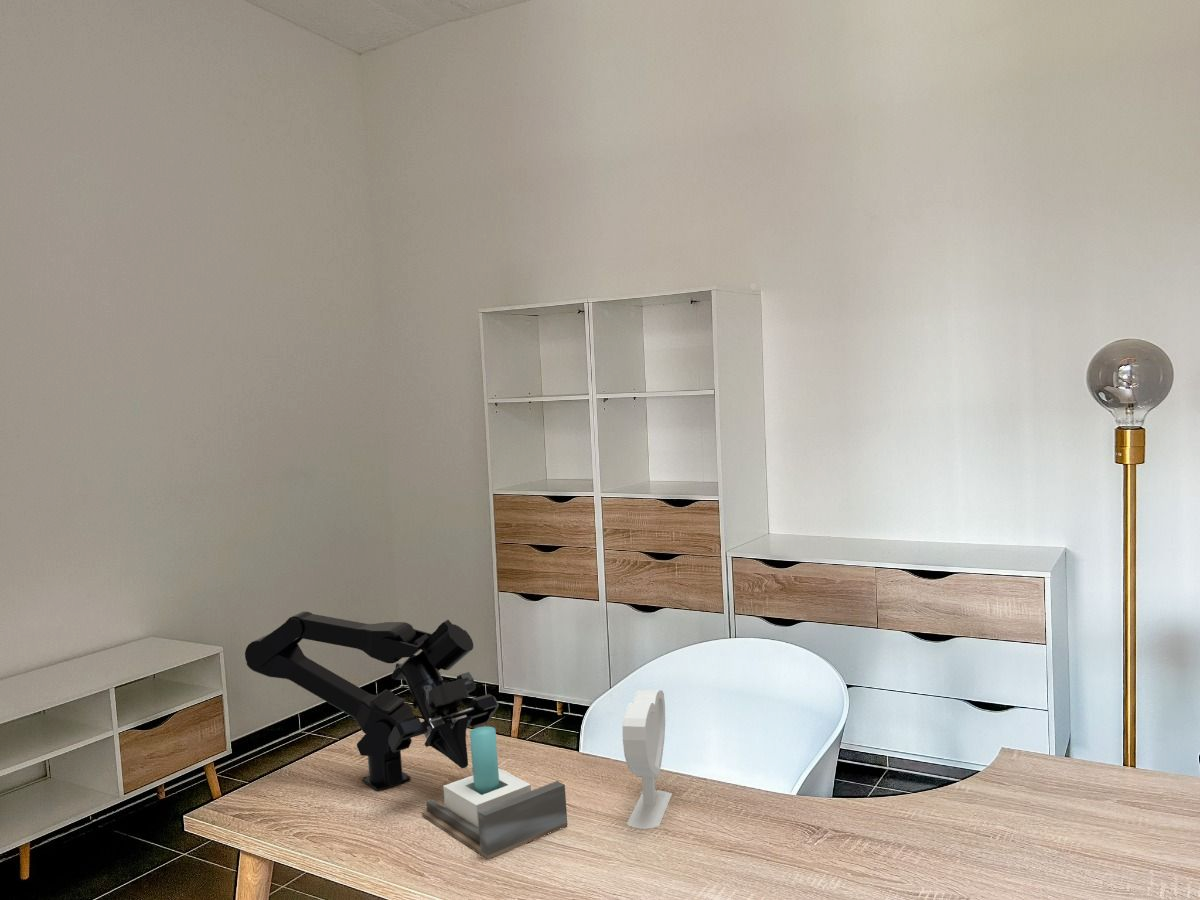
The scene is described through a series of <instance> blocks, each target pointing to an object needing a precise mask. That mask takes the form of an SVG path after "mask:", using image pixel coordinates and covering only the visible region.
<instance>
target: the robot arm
mask: <svg viewBox="0 0 1200 900" xmlns="http://www.w3.org/2000/svg"><path fill="white" fill-rule="evenodd" d="M302 640H308V641H315V642H320V643H324V644H331V645H335V646H341V647H345V648H346V647H347V648H352V649H356V650H360V651H362V652H363V653H365V654H366V655H367V656H368V657H370V658H372V659H375V660H378V661H380V662H383V663H385V664H395V663H396V664H395V668H394V670H393V672H392V675H391V679H393V680H400V681H405V682H406V684H407V686H408V689H409V691H410V693H411V695H412V698H413V700H414V701H413V702H412V706H413V708H414V710H416V709H418V711H419V712H420V713H419V714H420V715H421V717H422V720H423V721H421V720H420V718H419V717H418V716H416V715H415V714H414V711H413V708H412V706H411V705H409V704H408V703H407V702H406V700H407V698H405V697H400V696H397V695H396V693H394V692H393V691H391V690H389V689H384V690H383V691H382V692H380V693H378V694H372V693H370V692H367V691H366V690H364V689H362V688H361V687H359V686H357V685H356V684H354V683H352V682H351V681H349V680H347V679H345V678H343V677H342V676H340V675H338V674H337V673H335V672H333V671H331V670H330V669H328V668H326V667H324V666H323V665H321V664H319V663H317V662H315V661H313V660H312V659H311V658H308V657H307V656H306V655H304V652H303V650H302V649H301V647H300V645H299V643H300V642H301V641H302ZM473 649H474V642H473V639H472V637H471V635H470V634H469V632H468V631H466V630H465V629H464V628H462V627H460V626H459V625H457V624H453V623H452V622H451V621H450V620H449V619H446V620H444V621H443V622H442V623H441V624H440V625H439V626H438V627H437V628H436V629H435V631H433V632H432V633H430V632H426V631H422V630H419V629H415V628H414V627H413V625H411V624H410V623H408V622H405V621H387V622H377V623H366V622H365V623H364V622H359V621H353V620H349V619H342V618H336V617H332V616H325V615H319V614H315V613H313V612H310V611H301V612H298V613H297V614H294V615H293V616H291V617H289V618H287V620H286V621H285V622H284V623H282V624H281V625H280V626H278V627H277V628H276V629H275V630H274V631H272V632H270V633H268V634H266V635H263V636H261V637H259V638H257V639H255V640H253V641H251V642H249V644H248V645H247V646H246V648H245V652H244V658H245V659H244V660H245V661H246V666H247V667H248V668H249V669H250V671H252V672H255V673H256V674H257V673H258V674H260V675H262V676H266V677H269V678H274V679H275V678H277V679H284V680H288V681H290V682H292V683H294V684H296V685H297V686H299V687H300V688H303V689H304V690H306V691H308V692H309V693H311V694H312V695H315V696H316V697H318V698H320V700H323V701H325V702H327V703H328V704H329V705H331V706H333V707H335V708H337V709H338V710H340V711H341V712H343V713H345V714H347V715H349V716H350V717H352V718H353V719H355V720H356V723H357V724H358V726H359V728H360V729H361V731H362V733H364V735H363V737H362V738H361V739H360V740H359V741H357V743H356V748H357V750H358V752H359V755H360V756H363V757H365V756H366V757H367V763H368V764H367V765H368V775H365V776H363V777H361V781H362V782H363V783H364V784H366V785H368V786H369V787H371V788H373V790H376V791H382V790H385V789H387V788H390V787H394V786H396V785H400V784H402V782H403V783H406V782H409V781H410V780H411V776H410V775H409V774H407V773H405V772H404V771H403V763H402V752H401V751H403V750H406V749H410V746H411V743H412V738H415V737H419V736H422V735H424V738H426V741H425V742H424V746H425V747H426V748H428V747H431V748H433V749H434V750H436V751H437V752H439V753H441V754H442V755H443V756H445V757H447V758H448V759H449V760H451V762H453V763H454V764H455V765H456V766H458V767H459V768H460V769H465V768H467V767H468V766H469V759H468V750H467V729H468V728H469V727H471V728H477V727H480V726H481V725H484V724H487V723H489V722H490V721H491V719H492V718H493V716H494V714H495V713H496V711H497V710H498V708H499V706H500V705H499V703H498V701H497V699H496V697H495V696H494V695H492V694H490V693H488V694H485V695H481V696H478V697H475V698H472V699H471V701H470V702H469V704H468V706H467V708H463V709H458V708H459V707H462V704H463V699H467V698H469V697H470V695H469V693H471V692H473V691H475V690H476V683H475V679H474V678H473V676H472V675H471V673H470V672H469V671H468V672H464V673H461V674H459V675H457V676H456V680H453V681H450V680H449V679H448V678H447V679H443V677H442V674H441V672H440V670H443V671H450V670H451V669H452V668H453V667H455V665H457V664H458V663H459V662H460V661H461V660H462V659H463V658H464V657H466V656H467V655H468V654H469V653H470V652H472V650H473ZM418 652H419V653H418ZM403 658H407V659H406V660H405V661H403V663H398V662H399V661H400V660H402V659H403ZM405 781H406V782H405ZM399 783H400V784H399Z"/></svg>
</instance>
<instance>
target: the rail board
mask: <svg viewBox="0 0 1200 900" xmlns="http://www.w3.org/2000/svg"><path fill="white" fill-rule="evenodd" d="M566 797H567V796H566V784H564V783H563V782H560V781H558V780H556V781H554V782H551V783H548V784H545V785H542V786H540V787H537V788H535V789H533V790H532V789H531V791H529V792H527V793H524V794H522V795H519V796H516V797H514V798H511V799H509V800H506V801H503V802H501V803H498V804H496V805H493V806H490V807H488V808H485V809H483V810H480V811H478V822H479V829H478V828H476V827H475V826H473V825H472V824H470V823H468V822H467V821H465V820H464V819H462V818H460V817H459V816H457V815H456V814H454V813H452V812H451V811H449V810H448V809H446V808H445V803H443V804H440V803H439V802H436V801H435V800H433V799H429V800H426V801H425V804H426V810H424V811H422V812H421V816H422V817H423V818H424V819H426V820H427V821H429V822H430V823H432V824H434V825H435V826H436V827H438V828H440V829H441V830H443V831H444V832H446V833H447V834H449V835H450V836H452V837H453V838H455V839H457V840H458V841H459V842H461V844H462V843H463V844H464V845H466V846H467V847H468V848H470V849H471V850H473V851H474V852H476V853H478V854H479V855H480V856H482V857H484V859H487V860H491V859H493V858H496V857H498V856H500V855H503V854H505V853H507V852H510V851H512V850H515V849H516V847H517V848H519V847H522V846H524V845H526V844H528V842H529V843H531V842H533V841H532V840H534V841H535V839H536V840H537V838H538V839H540V838H539V837H541V838H542V836H543V837H545V836H547V835H546V834H548V833H550V832H552V833H554V832H553V831H555V830H557V831H559V830H561V829H560V828H562V829H564V828H566V827H568V826H567V825H568V813H567V798H566ZM565 826H566V827H565ZM563 827H564V828H563ZM558 829H559V830H558ZM555 832H556V831H555ZM550 834H551V833H550ZM544 835H545V836H544ZM548 835H549V834H548ZM530 841H531V842H530ZM525 843H526V844H525ZM523 844H524V845H523ZM521 845H522V846H521ZM514 848H515V849H514Z"/></svg>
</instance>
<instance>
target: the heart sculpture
mask: <svg viewBox="0 0 1200 900" xmlns="http://www.w3.org/2000/svg"><path fill="white" fill-rule="evenodd" d="M665 702H666V701H665V693H664V691H663V690H661V689H658V690H657V689H638V690H636V692H635V694H634V698H633V702H631V701H630V702H629V703H628V705H627V707H626V709H625V713H624V716H623V720H622V727H621V728H622V745H623V753H624V758H625V761H626V763H625V764H626V766H627V768H628V770H629V771H630V772H631V773H632V774H633V775H635V776H636V777H637V778H641V784H642V792H641V794H640V796H639V798H638V801H637V803H636V804H635V806H634V808H633V811H632V813H631V814H630V817H629V818H628V821H627V823H626V825H627V824H628V825H627V826H630V827H631V826H632V828H634V829H639V828H640V830H644V829H645V830H647V829H653V828H659V827H660V824H661V822H662V820H663V817H664V814H665V812H666V810H667V807H668V804H669V803H670V800H671V798H672V795H673V793H672V792H668V791H665V790H660V789H657V790H656V779H659V778H660V775H661V767H662V760H663V756H664V745H665V737H666V736H665V735H666V734H665V733H666V703H665Z"/></svg>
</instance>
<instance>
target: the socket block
mask: <svg viewBox="0 0 1200 900" xmlns="http://www.w3.org/2000/svg"><path fill="white" fill-rule="evenodd" d="M498 772H499V786H500V788H499V789H497V790H494V791H491V792H489V793H486V794H483V795H481V794H479V793H477V792H475V791H474V780H473V775H470V776H467V777H465V778H462V779H458V780H456V781H453V782H451V783H447V784H445V785H443V798H444V804H445V808H446V809H448V810H449V811H451V812H452V813H454V814H456V815H457V816H459V817H460V818H462V819H464V820H465V821H467V822H468V823H470V824H472V825H473V826H475V827H476V828H478V829H479V822H478V811H480V810H483V809H485V808H488V807H490V806H493V805H496V804H498V803H501V802H503V801H506V800H509V799H511V798H514V797H516V796H519V795H522V794H524V793H527V792H529V791H532V784H531V783H528V782H527V781H525V780H522V779H520V777H517V776H515V775H513V774H511V773H509V772H507V771H505V770H504V769H501V768H499V767H498Z"/></svg>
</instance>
